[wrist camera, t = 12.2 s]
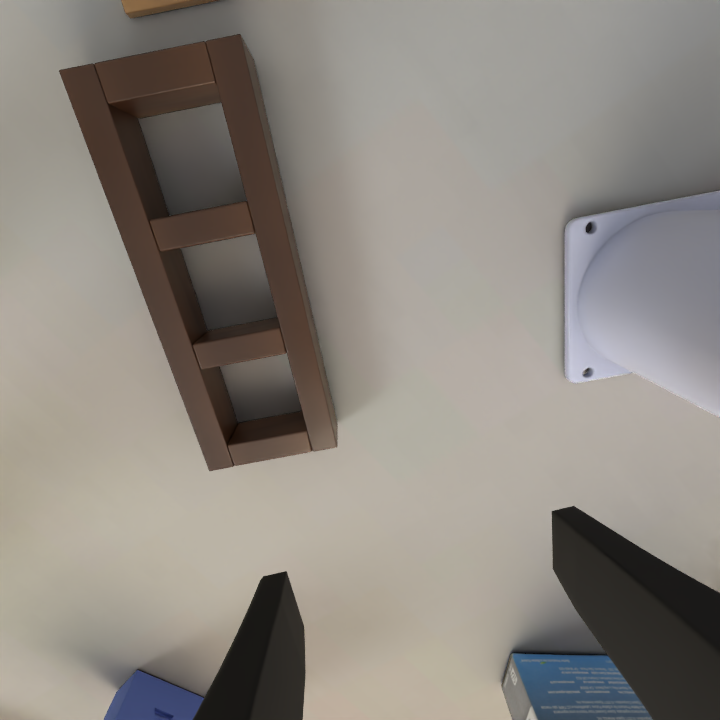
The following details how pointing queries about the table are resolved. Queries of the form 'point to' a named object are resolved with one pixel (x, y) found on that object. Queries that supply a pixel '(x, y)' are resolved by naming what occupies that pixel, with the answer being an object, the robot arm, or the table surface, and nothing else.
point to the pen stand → (207, 240)
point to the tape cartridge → (569, 689)
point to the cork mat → (156, 6)
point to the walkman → (152, 700)
